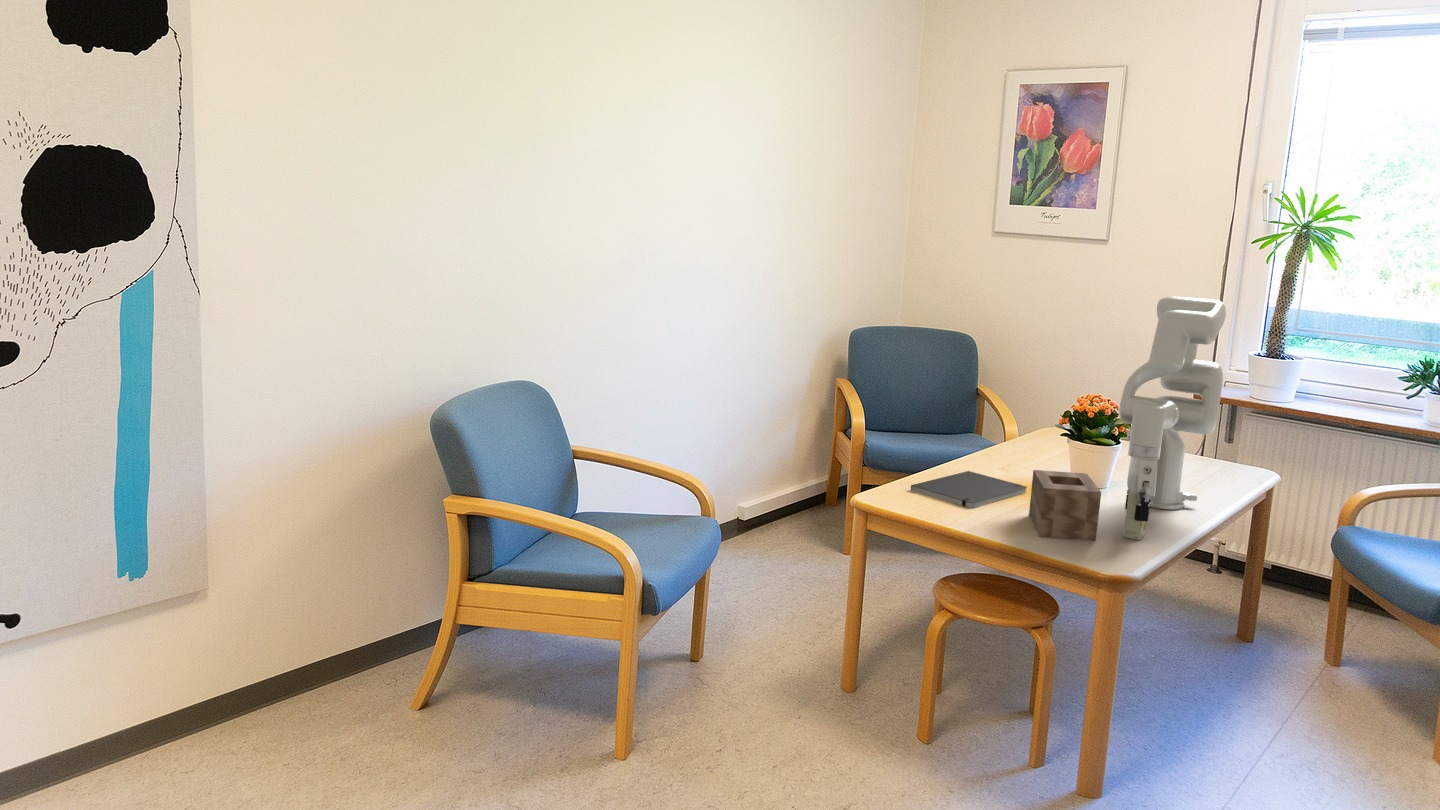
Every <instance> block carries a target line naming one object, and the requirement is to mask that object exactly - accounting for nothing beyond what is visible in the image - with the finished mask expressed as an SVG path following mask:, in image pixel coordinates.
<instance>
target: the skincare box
mask: <svg viewBox="0 0 1440 810" xmlns="http://www.w3.org/2000/svg"><path fill="white" fill-rule="evenodd" d="M1140 494H1142V493H1140ZM1127 495H1128V502H1127V510H1126V509H1125V510H1126V511H1125V519H1124V526H1123V527H1124V528H1123V535H1122V536H1123V538H1126V539H1132V540H1137V541H1141V540H1142V539H1143V537H1144V536H1145V533H1146V524H1147V521H1136V520H1135V519H1134V517H1135V509H1136V505H1138V503H1137V496H1135V495H1134V494H1133V492H1132V491H1129V494H1127ZM1141 500H1142V498H1141Z"/></svg>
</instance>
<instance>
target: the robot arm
mask: <svg viewBox="0 0 1440 810" xmlns="http://www.w3.org/2000/svg"><path fill="white" fill-rule="evenodd" d="M1226 313H1227V310H1226V306H1225V304H1224V303H1223V302H1222V301H1220V300H1218V299H1217V300H1216V299H1209V298H1208V299H1207V298H1195V297H1187V296H1186V297H1185V296H1165V297H1162V298H1161V299H1159V300H1158V302H1157V305H1156V316H1157V319H1158V321H1157V323H1156V328H1155V332H1154V333H1155V334H1154V336H1153V337H1154V338H1153V342H1152V346H1151V349H1150V350H1151V351H1150V355H1149V359H1148V360H1147V362H1145V363H1144V364H1142V365H1141V366H1139V367H1138V368H1137V369H1136V370H1135V371H1133V372H1132V374H1130V376H1129V377H1128V379H1127V381H1125V384H1124V386H1123V390H1122V394H1121V399H1120V402H1119V409H1118V414H1119V415H1118V416H1119V418H1120V420H1121V421H1122V422H1123V423H1125V424H1129V425H1131V427H1130V435H1129V442H1128V443H1129V444H1128V451H1127V453H1128V454H1127V455H1128V456H1129V457H1130V460H1129V461H1130V462H1129V466H1128V470H1127V471H1128V472H1127V479H1126V480H1127V481H1126V483H1127V484H1126V485H1127V490H1126V497H1125V506H1124V509H1125V510H1127V502H1128V494H1129V491H1132V492H1133V494H1134V495H1135V496H1137V503H1138V505H1136V509H1135V517H1134V519H1135V520H1136V521H1146V522H1148V521H1149V513H1150V508H1152V509H1153V508H1154V509H1161V510H1168V511H1169V510H1170V511H1171V510H1174V511H1175V510H1179V509H1182V508H1183V507H1184V506H1185V501H1189V502H1190V501H1191V502H1196V501H1197V500H1198V495H1197V494H1195V493H1190V492H1188V491H1187V492H1186V491H1185V492H1184V491H1182V490H1181V483H1182V475H1183V468H1184V460H1185V453H1186V445H1185V441H1184V440H1183V437H1182V436H1181V434H1179V432H1185V433H1190V434H1200V435H1210V434H1212V433H1213V432H1214V431H1215V429H1216V428H1217V423H1218V418H1219V411H1220V406H1221V405H1220V404H1221V396H1222V390H1223V382H1224V381H1223V380H1224V372H1223V369H1222V366H1221V365H1220V364H1219V363H1217V362H1215V361H1209V360H1208V361H1207V360H1200V359H1197V352H1198V347H1199V345H1212V344H1213V342H1215V340H1216V339H1217V337H1218V334H1219V332H1220V331H1221V330H1222V328H1223V326H1224V324H1225V320H1226V316H1227V314H1226ZM1158 378H1160V379H1159V380H1160V385H1161V387H1162V388H1163V389H1165V390H1167V391H1172V392H1177V393H1184V394H1191V395H1199V396H1200V397H1201V399H1199V398H1189V397H1186V396H1185V397H1184V396H1183V397H1182V396H1175V395H1161V396H1157V397H1156V398H1154V397H1145V396H1140V395H1136V393H1137V391H1138V390H1139V388H1140V387H1141V386H1143V384H1145V383H1147V382H1150V381H1152V380H1156V379H1158ZM1140 493H1142V494H1140ZM1141 498H1142V500H1141Z"/></svg>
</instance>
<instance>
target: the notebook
mask: <svg viewBox="0 0 1440 810" xmlns="http://www.w3.org/2000/svg"><path fill="white" fill-rule="evenodd" d="M1027 488H1028V486H1026V485H1023V484H1019V483H1015V482H1011V481H1008V480H1003V479H1000V478H995V477H993V476H988V475H985V474H981V473H979V472H978V473H977V472H974V471H970V470H968V471H963V472H959V473H955V474H951V475H947V476H942V477H939V478H935V479H930V480H926V481H922V482H918V483H914V484H911V485H910V491H912V492H916V493H919V494H922V495H925V496H928V497H932V498H935V499H937V500H938V499H939V500H942V501H944V502H948V503H952V504H956V505H959V506H962V507H965V508H969V509H975V508H979V507H982V506H985V505H989V504H993V503H996V502H1000V501H1004V500H1006V499H1010V498H1014V497H1016V496H1020V495H1023V494H1026V492H1027V491H1026V490H1027Z"/></svg>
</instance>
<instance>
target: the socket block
mask: <svg viewBox="0 0 1440 810" xmlns="http://www.w3.org/2000/svg"><path fill="white" fill-rule="evenodd" d="M1101 499H1102V491H1101V490H1100V489H1099V487H1098V486H1097V485H1096V483H1095V482H1094V481H1093V479H1092V478H1091V477H1090V476H1089V473H1085V472H1084V473H1083V472H1071V471H1070V472H1069V471H1056V470H1054V471H1053V470H1041V469H1038V470H1037V469H1033V471H1032V481H1031V491H1030V500H1029V501H1030V502H1029V509H1028V517H1029V520H1030V522H1031V524H1033V527H1034V530H1035V532H1036V533H1037V536H1038V537H1039V538H1049V539H1050V538H1051V539H1064V540H1074V541H1075V540H1076V541H1086V542H1087V541H1089V542H1097V535H1098V534H1097V533H1098V525H1099V516H1100V507H1101Z"/></svg>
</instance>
